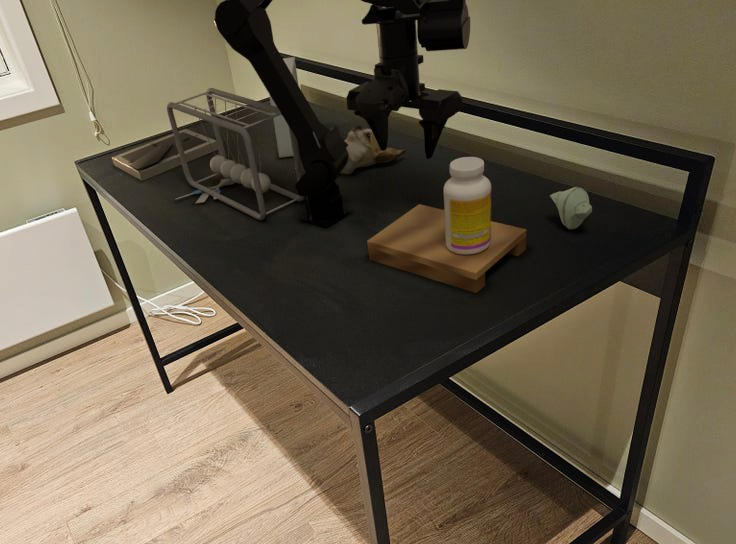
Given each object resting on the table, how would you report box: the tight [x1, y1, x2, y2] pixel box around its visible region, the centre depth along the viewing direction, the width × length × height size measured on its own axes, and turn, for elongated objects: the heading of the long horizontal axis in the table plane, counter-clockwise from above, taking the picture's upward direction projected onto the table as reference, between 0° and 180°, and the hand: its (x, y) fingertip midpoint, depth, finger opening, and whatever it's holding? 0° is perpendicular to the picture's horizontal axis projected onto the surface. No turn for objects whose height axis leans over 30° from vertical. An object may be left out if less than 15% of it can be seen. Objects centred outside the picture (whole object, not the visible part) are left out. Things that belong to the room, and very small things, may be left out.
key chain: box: [174, 178, 236, 204], centre depth 137 cm, size 14×8×1 cm, turn 126°
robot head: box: [549, 186, 593, 230], centre depth 103 cm, size 8×4×7 cm, turn 25°
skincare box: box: [268, 56, 300, 159], centre depth 150 cm, size 21×5×16 cm, turn 179°
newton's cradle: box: [166, 87, 305, 221], centre depth 129 cm, size 30×10×18 cm, turn 38°
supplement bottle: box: [443, 156, 492, 255], centre depth 95 cm, size 7×7×13 cm
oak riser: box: [366, 203, 527, 294], centre depth 103 cm, size 20×14×4 cm
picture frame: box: [111, 128, 219, 182], centre depth 158 cm, size 16×3×21 cm
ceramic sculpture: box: [340, 125, 407, 175], centre depth 134 cm, size 11×9×15 cm
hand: (406, 153), depth 108 cm, fingers open, 9 cm apart
